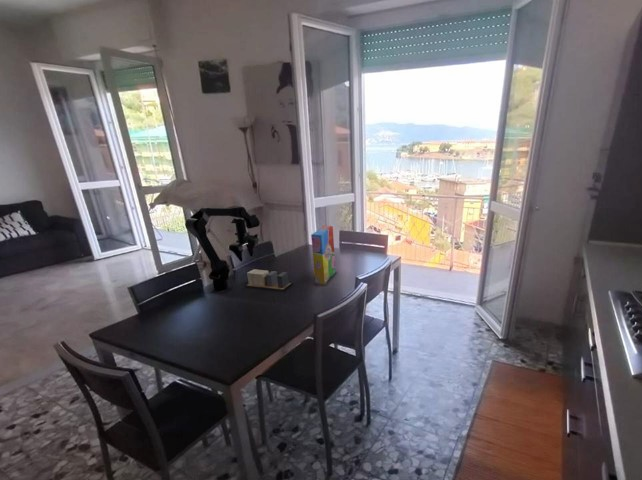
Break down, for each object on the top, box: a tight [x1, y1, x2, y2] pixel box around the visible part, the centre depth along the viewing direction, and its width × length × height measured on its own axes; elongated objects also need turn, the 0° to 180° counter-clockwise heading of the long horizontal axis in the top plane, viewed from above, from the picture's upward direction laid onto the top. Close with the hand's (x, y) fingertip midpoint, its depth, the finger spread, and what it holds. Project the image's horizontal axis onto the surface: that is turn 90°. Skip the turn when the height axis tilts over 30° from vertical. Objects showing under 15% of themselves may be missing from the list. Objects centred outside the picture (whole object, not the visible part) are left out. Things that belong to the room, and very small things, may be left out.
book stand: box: [246, 276, 292, 290], centre depth 188 cm, size 9×22×6 cm, turn 73°
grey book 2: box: [277, 271, 290, 289], centre depth 185 cm, size 6×3×6 cm, turn 163°
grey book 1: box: [266, 270, 278, 287], centre depth 187 cm, size 6×3×6 cm, turn 163°
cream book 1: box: [246, 268, 258, 285], centre depth 190 cm, size 6×3×6 cm, turn 163°
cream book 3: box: [258, 269, 270, 286], centre depth 188 cm, size 6×3×6 cm, turn 163°
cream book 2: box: [252, 269, 263, 285], centre depth 189 cm, size 6×3×6 cm, turn 163°
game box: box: [310, 225, 337, 286], centre depth 192 cm, size 21×6×27 cm, turn 168°
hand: (246, 258), depth 194 cm, fingers open, 9 cm apart
